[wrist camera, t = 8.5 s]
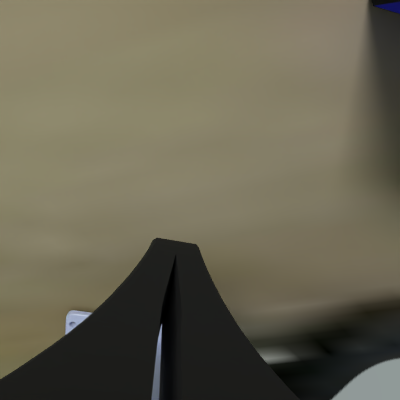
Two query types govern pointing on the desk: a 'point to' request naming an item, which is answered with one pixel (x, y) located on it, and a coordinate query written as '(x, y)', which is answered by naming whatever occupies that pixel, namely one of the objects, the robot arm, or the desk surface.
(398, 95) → the desk surface
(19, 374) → the robot arm
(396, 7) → the puzzle cube
